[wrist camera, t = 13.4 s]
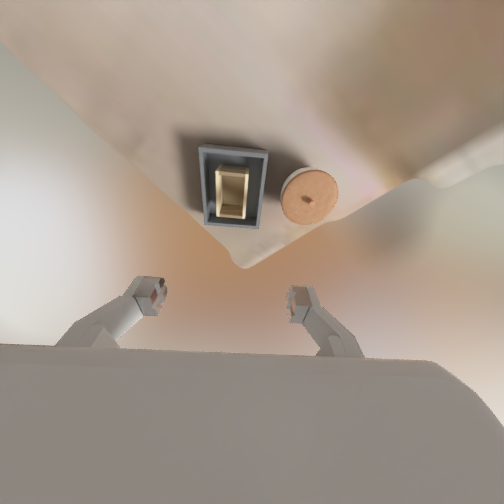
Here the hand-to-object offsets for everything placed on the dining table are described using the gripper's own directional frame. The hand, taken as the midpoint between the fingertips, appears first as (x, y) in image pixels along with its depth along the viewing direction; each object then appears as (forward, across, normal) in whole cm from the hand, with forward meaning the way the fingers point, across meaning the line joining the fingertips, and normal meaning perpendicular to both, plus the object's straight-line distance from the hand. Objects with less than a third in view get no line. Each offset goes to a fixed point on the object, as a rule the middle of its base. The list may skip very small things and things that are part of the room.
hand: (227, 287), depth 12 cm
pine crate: (+32, +2, +4) cm, 33 cm away
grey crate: (+33, +2, +4) cm, 33 cm away
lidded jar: (+33, -13, +3) cm, 36 cm away
